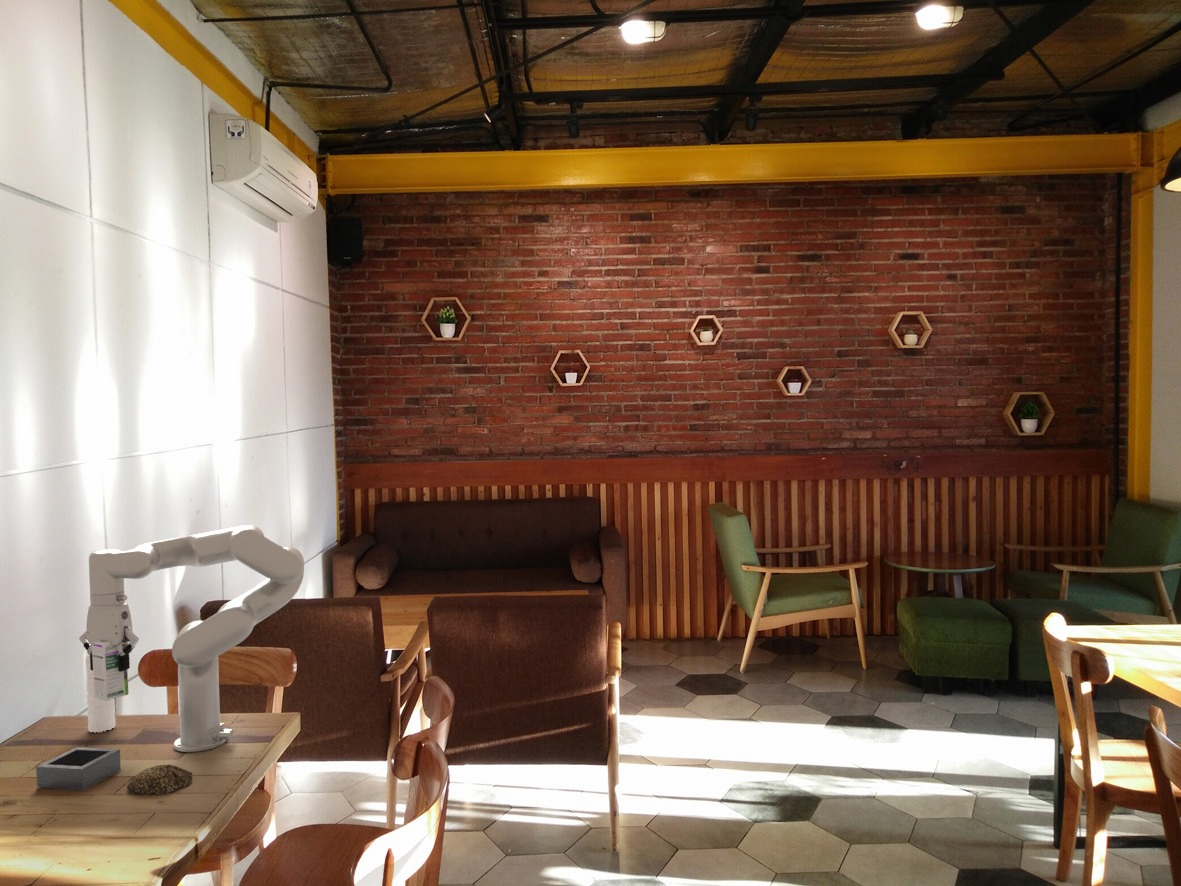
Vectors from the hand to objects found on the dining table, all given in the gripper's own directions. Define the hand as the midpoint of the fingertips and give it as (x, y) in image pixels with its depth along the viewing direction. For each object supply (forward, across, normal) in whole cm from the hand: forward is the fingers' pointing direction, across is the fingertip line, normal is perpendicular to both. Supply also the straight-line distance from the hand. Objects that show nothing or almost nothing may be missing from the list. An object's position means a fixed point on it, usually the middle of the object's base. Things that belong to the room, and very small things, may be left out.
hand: (110, 669), depth 218 cm
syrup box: (+7, 0, 0) cm, 7 cm away
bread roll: (+22, -25, +14) cm, 37 cm away
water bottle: (+22, +17, -15) cm, 32 cm away
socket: (+22, -3, +14) cm, 26 cm away
